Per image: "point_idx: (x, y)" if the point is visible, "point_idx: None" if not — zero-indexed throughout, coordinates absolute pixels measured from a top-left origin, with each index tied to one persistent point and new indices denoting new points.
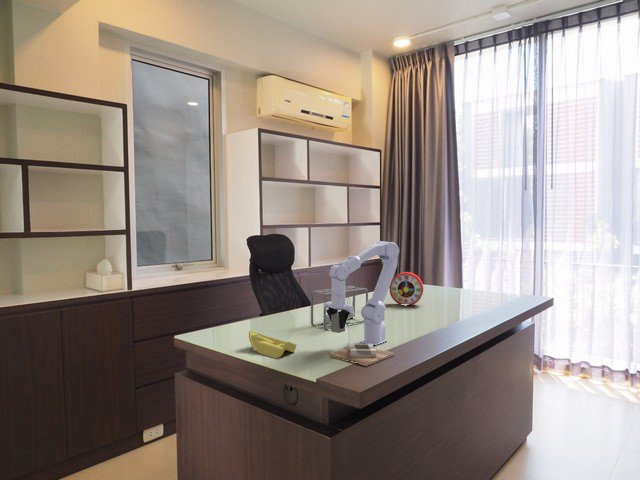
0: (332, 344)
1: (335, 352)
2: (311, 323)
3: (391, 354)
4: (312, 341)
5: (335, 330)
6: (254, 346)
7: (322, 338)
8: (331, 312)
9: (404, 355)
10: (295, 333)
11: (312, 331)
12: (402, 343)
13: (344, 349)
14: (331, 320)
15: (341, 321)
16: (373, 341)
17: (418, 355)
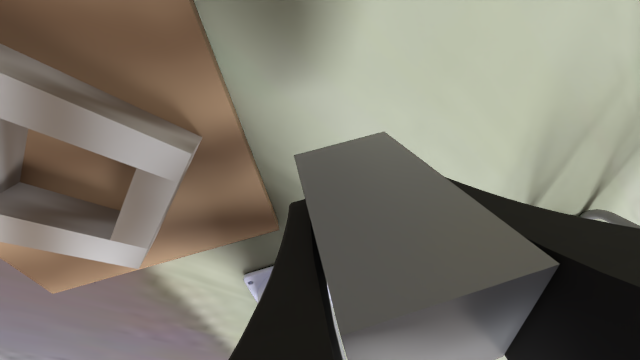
0: None
1: (176, 10)
2: (607, 212)
3: (30, 277)
4: (494, 84)
5: (337, 152)
6: None
7: (478, 158)
8: (613, 313)
9: (59, 311)
10: (630, 96)
11: (564, 178)
12: (230, 344)
13: (222, 121)
14: (453, 189)
15: (278, 264)
16: (262, 290)
17: (47, 343)
